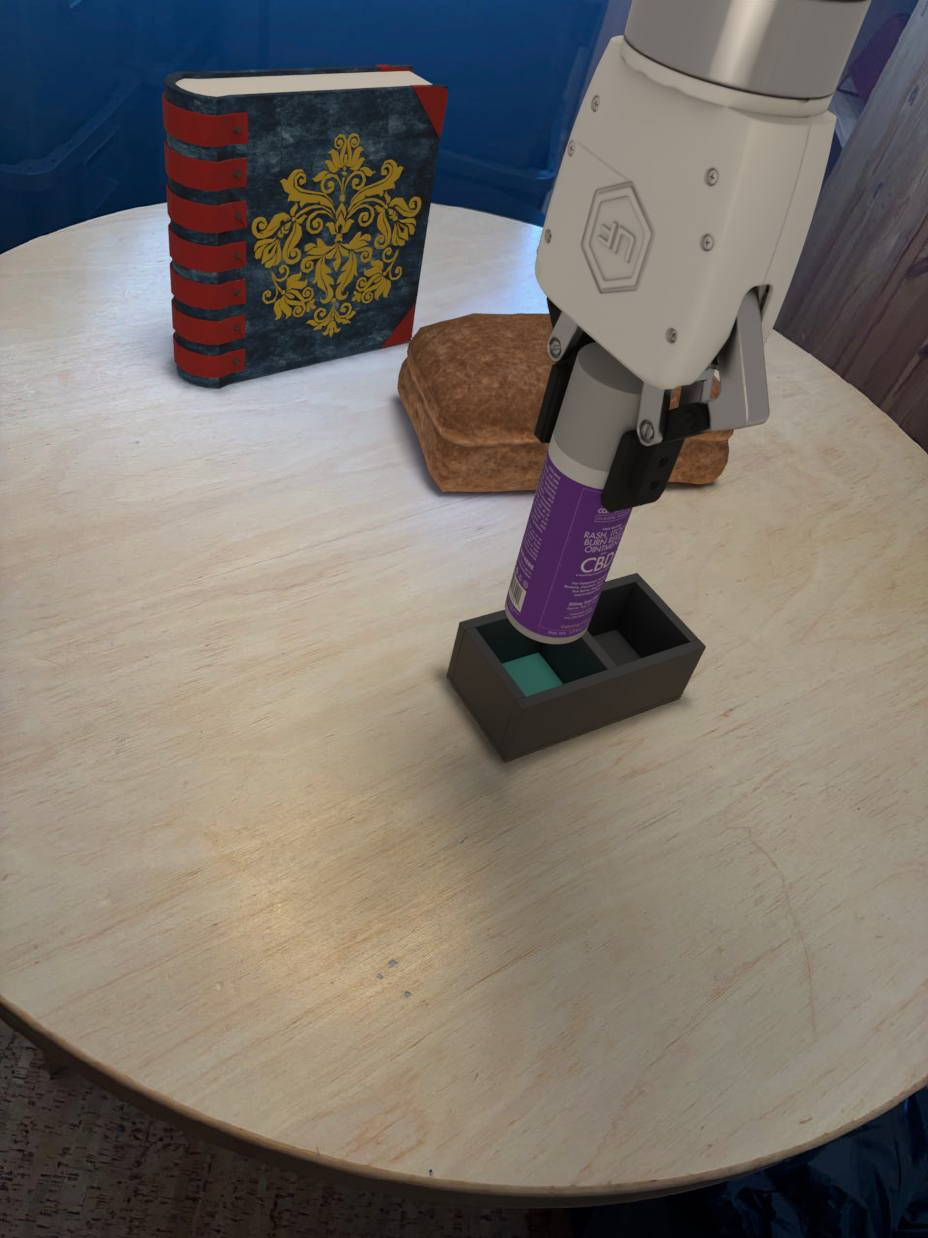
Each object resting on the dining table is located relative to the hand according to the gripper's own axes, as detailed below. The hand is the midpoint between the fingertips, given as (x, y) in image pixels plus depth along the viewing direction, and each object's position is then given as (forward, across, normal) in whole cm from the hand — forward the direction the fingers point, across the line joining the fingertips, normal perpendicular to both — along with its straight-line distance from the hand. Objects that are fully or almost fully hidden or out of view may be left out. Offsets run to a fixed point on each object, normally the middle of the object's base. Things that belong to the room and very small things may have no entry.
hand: (595, 465), depth 45 cm
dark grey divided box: (+25, -5, +9) cm, 27 cm away
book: (+25, -53, +8) cm, 59 cm away
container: (+10, 0, 0) cm, 10 cm away
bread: (+25, -31, +26) cm, 48 cm away
